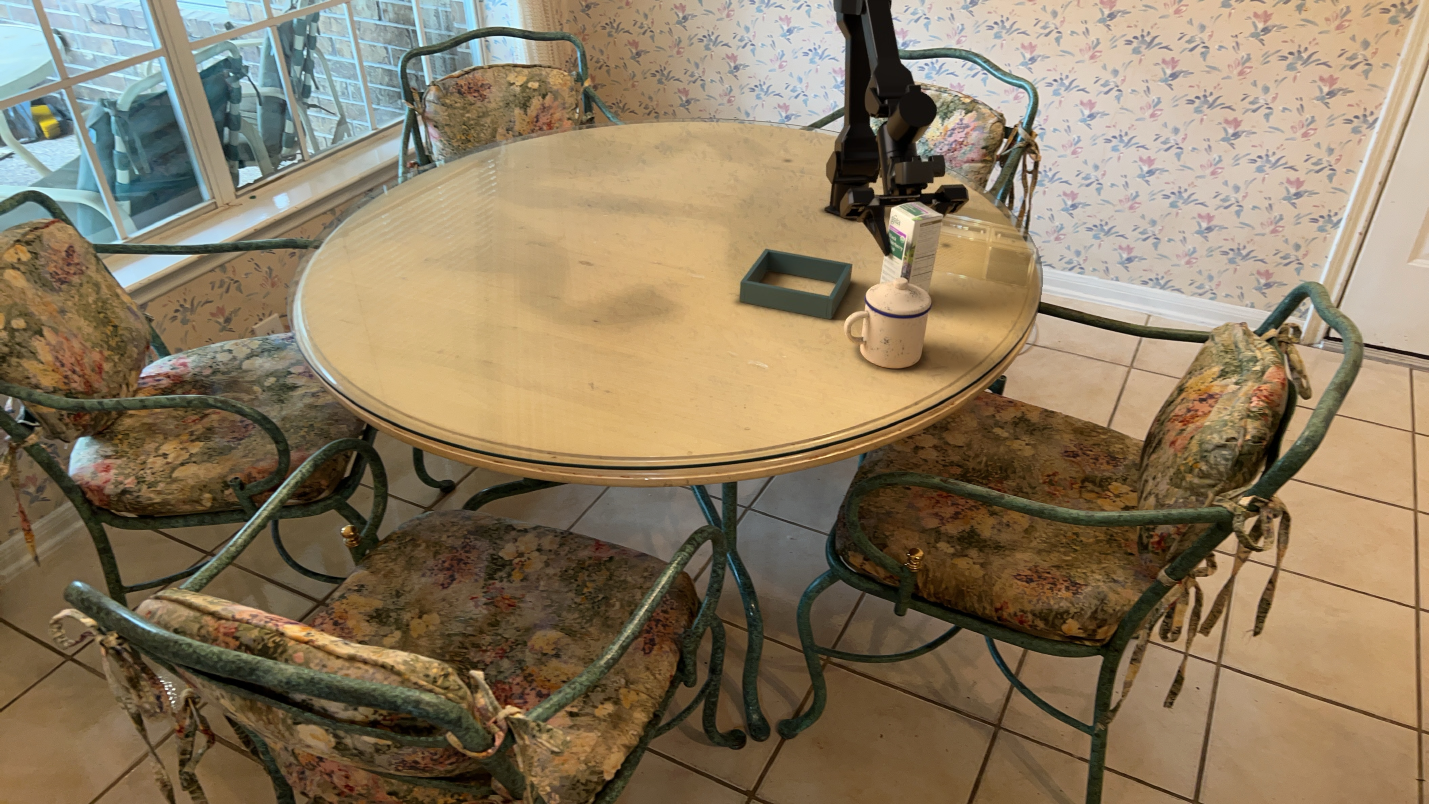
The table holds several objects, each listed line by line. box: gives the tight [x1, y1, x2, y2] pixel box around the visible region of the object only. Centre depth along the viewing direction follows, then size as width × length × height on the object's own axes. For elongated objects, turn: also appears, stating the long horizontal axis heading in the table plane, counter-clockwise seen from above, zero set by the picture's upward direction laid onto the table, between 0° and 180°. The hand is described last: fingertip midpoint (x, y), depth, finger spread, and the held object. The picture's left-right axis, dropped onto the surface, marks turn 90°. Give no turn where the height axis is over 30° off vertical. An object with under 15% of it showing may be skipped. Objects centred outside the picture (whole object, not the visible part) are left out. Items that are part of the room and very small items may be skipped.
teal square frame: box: [739, 248, 853, 320], centre depth 142 cm, size 13×15×4 cm
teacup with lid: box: [843, 277, 933, 369], centre depth 125 cm, size 12×9×12 cm
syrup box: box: [879, 202, 944, 295], centre depth 137 cm, size 6×6×14 cm
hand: (909, 254), depth 137 cm, fingers closed on syrup box, 7 cm apart
